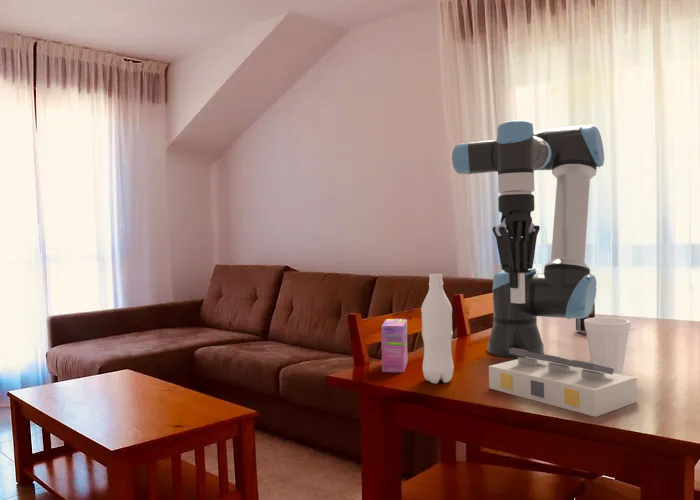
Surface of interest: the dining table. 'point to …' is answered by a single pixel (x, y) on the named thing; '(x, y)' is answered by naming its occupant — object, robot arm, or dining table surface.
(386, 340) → the box
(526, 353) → the switch
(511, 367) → the console
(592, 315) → the beverage can
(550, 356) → the switch
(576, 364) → the switch
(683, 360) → the dining table surface
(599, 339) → the cup
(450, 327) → the water bottle
